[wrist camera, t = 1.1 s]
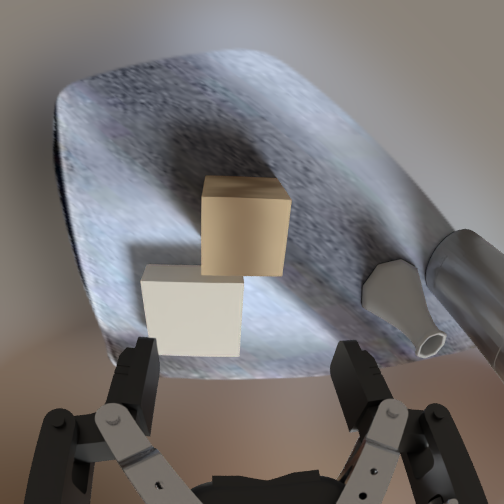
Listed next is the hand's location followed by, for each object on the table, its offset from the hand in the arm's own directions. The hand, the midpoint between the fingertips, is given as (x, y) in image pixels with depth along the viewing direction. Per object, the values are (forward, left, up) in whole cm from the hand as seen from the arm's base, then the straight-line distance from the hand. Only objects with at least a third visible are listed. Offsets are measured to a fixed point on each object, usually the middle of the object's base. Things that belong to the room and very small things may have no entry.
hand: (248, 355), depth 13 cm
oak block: (-1, -1, -17) cm, 17 cm away
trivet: (+3, +9, -16) cm, 19 cm away
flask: (-18, +7, -17) cm, 25 cm away
